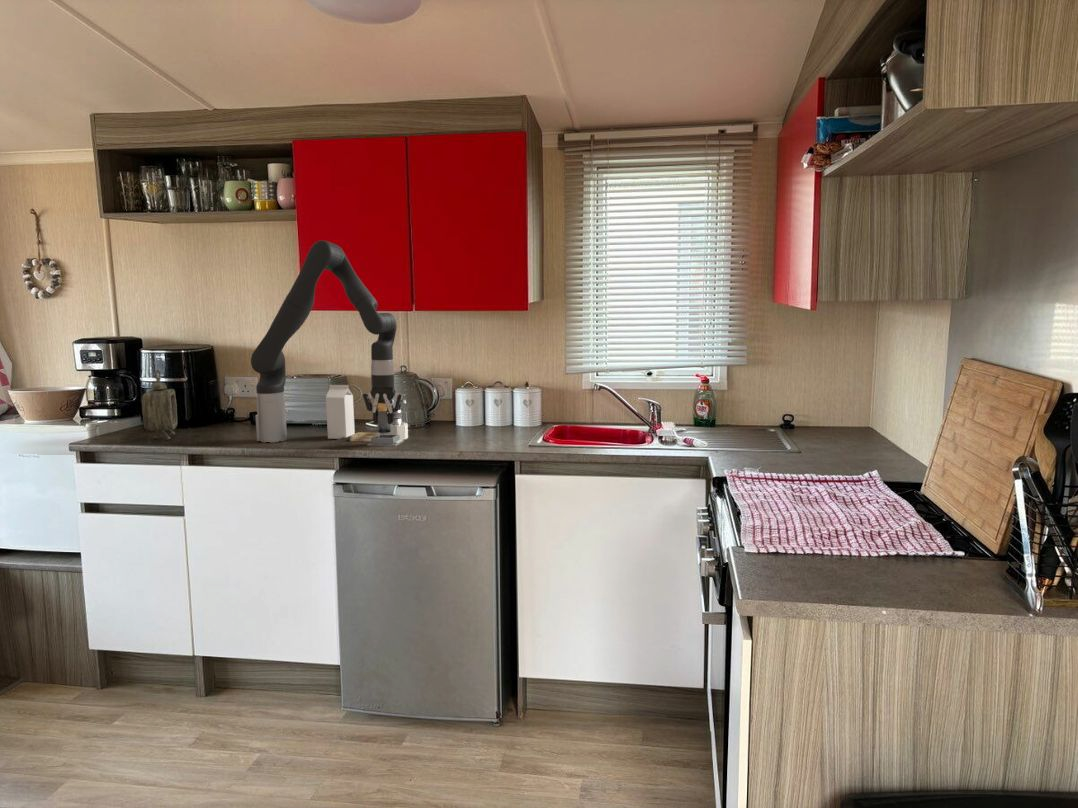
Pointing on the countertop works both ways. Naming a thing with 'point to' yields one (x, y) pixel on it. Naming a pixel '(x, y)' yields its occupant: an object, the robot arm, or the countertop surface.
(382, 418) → the cell
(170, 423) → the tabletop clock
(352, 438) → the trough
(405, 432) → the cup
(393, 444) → the grey flat block
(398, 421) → the cell
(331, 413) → the milk carton
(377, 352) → the robot arm
